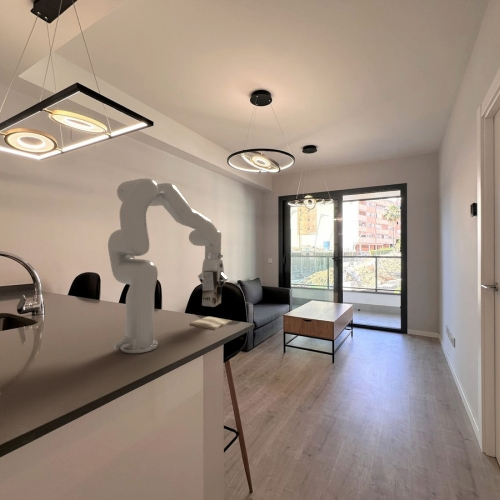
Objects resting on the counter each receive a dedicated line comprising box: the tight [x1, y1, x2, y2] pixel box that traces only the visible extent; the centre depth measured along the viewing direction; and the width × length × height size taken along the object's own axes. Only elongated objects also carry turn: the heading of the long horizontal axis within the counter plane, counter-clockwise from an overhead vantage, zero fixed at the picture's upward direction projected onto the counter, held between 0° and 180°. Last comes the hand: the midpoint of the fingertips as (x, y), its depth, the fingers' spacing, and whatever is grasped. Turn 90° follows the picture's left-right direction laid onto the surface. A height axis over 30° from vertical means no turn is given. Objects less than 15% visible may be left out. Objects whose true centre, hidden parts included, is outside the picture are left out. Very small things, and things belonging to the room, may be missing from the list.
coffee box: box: [201, 271, 222, 308], centre depth 136 cm, size 9×6×16 cm
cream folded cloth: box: [189, 316, 233, 330], centre depth 136 cm, size 14×14×1 cm
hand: (212, 293), depth 136 cm, fingers closed on coffee box, 7 cm apart
